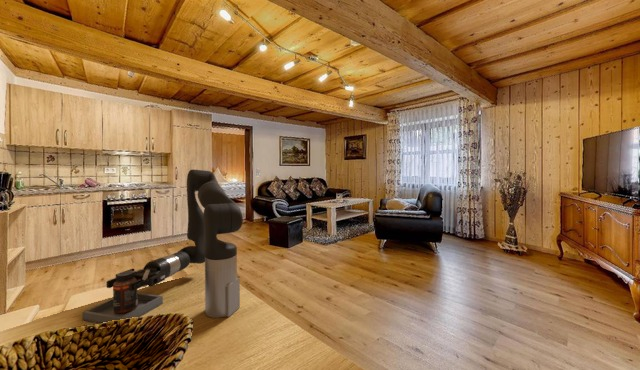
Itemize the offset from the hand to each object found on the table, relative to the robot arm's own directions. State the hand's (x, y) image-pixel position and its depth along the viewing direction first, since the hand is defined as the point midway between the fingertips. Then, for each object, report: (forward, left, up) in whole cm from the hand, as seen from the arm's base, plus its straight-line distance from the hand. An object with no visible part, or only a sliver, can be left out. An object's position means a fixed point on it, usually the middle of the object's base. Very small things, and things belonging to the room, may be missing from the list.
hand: (118, 286), depth 78 cm
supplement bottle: (0, -2, -8) cm, 8 cm away
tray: (0, -2, -9) cm, 9 cm away
